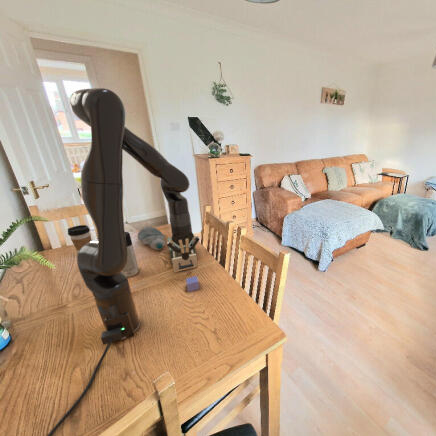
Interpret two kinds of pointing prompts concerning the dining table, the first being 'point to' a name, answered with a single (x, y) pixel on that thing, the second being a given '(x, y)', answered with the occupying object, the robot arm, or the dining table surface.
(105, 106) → the robot arm
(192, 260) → the drawer
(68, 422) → the dining table surface
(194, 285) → the purple cube
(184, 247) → the cabinet
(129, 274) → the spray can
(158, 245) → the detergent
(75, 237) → the coffee cup
